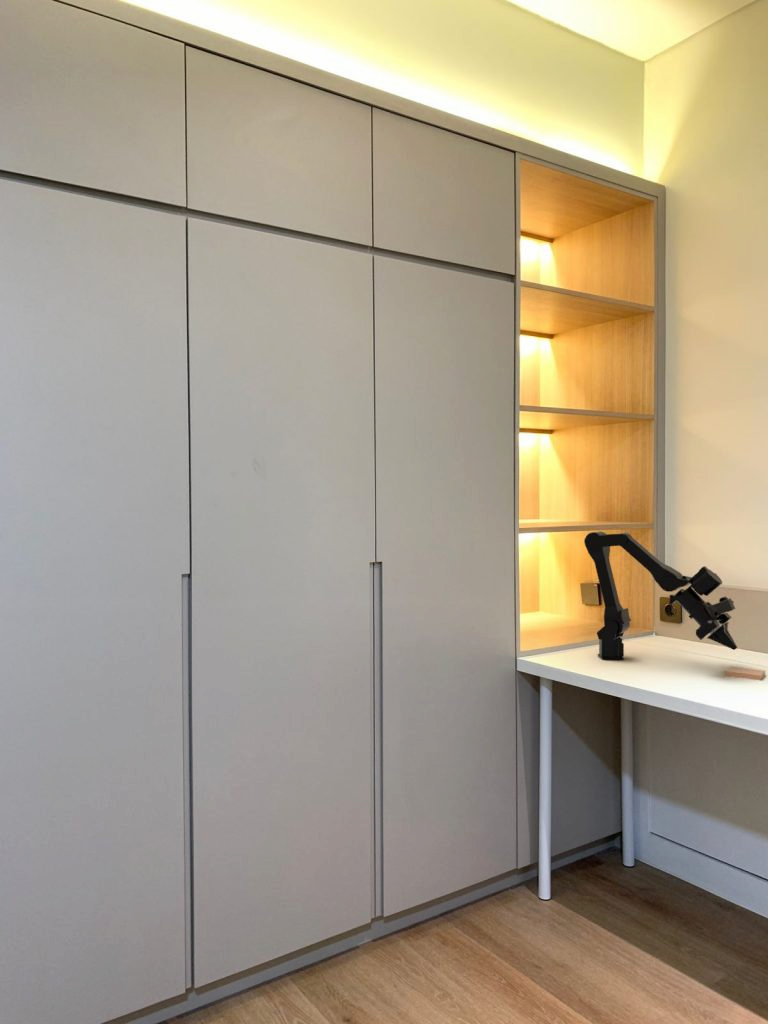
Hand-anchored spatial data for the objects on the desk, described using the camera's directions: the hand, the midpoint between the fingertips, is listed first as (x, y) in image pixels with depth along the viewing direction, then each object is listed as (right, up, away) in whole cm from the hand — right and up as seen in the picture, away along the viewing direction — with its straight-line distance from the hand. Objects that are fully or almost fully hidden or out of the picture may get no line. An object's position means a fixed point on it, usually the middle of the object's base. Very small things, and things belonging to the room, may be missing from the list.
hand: (735, 648), depth 218 cm
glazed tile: (-2, -7, +1) cm, 7 cm away
